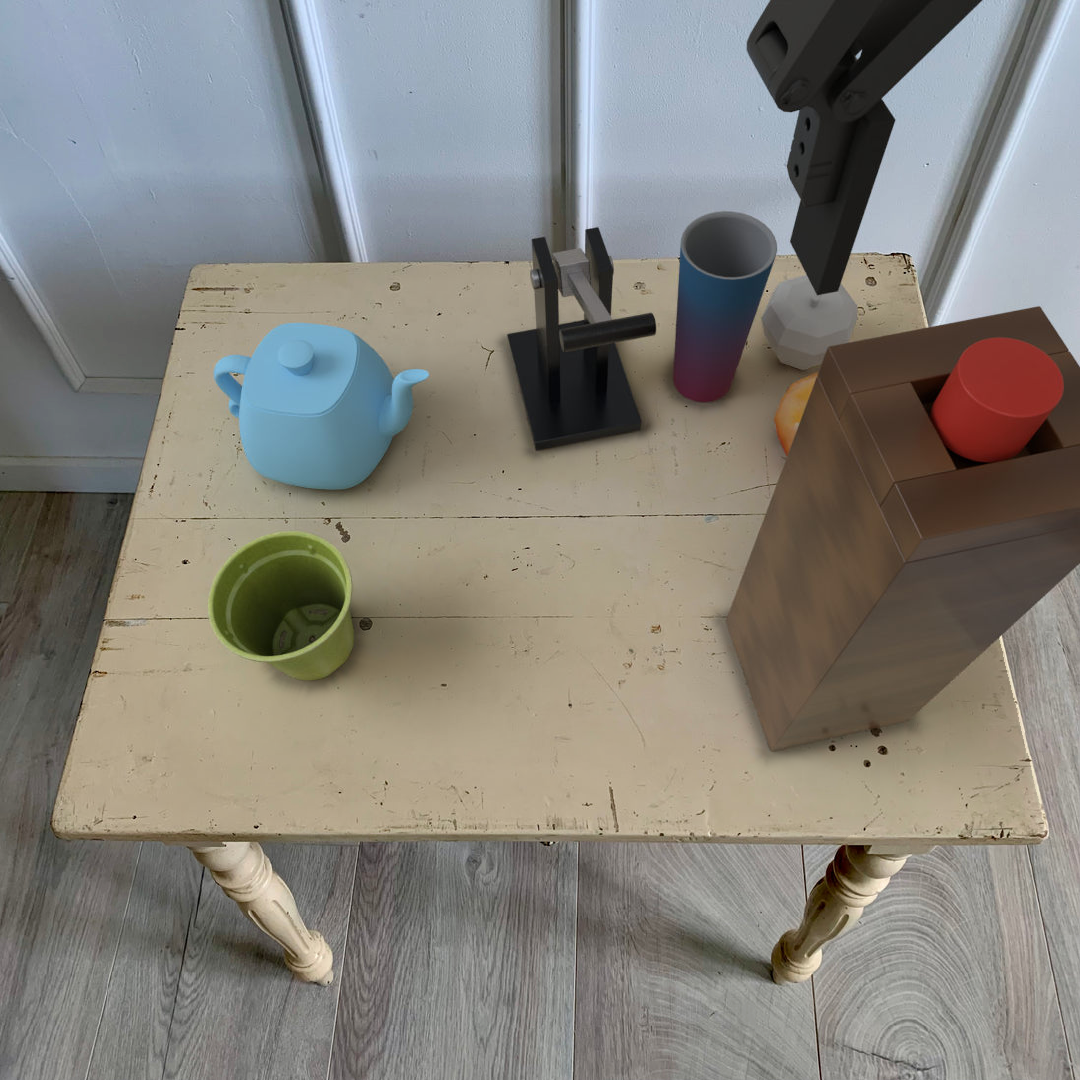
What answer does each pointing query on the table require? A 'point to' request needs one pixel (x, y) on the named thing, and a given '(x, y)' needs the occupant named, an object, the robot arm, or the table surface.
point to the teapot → (316, 405)
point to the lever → (593, 308)
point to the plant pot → (285, 604)
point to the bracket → (570, 362)
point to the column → (899, 537)
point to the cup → (718, 299)
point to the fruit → (792, 410)
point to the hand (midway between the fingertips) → (996, 232)
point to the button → (996, 399)
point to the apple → (807, 322)
